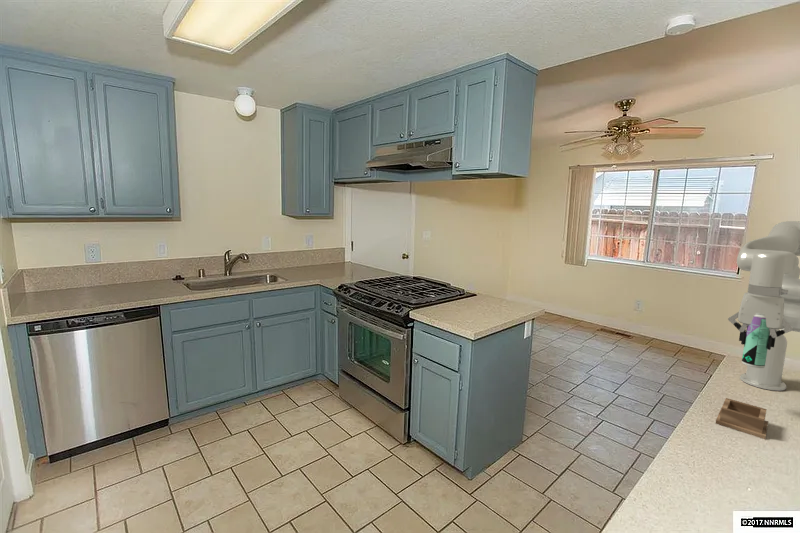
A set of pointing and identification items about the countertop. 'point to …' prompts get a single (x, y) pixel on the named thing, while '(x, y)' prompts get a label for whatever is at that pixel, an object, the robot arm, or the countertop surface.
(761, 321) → the spray can
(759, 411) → the can holder
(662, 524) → the countertop surface
